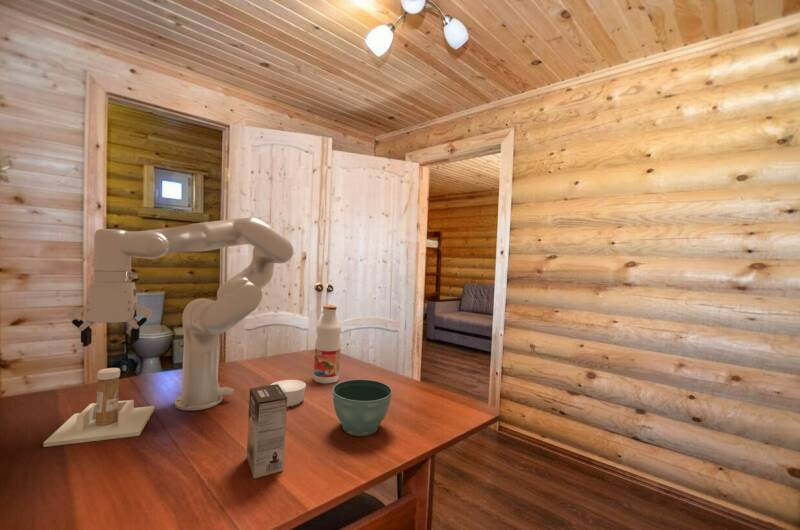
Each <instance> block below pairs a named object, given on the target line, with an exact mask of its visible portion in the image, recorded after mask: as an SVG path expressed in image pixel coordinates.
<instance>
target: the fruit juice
mask: <svg viewBox="0 0 800 530" xmlns="http://www.w3.org/2000/svg"><path fill="white" fill-rule="evenodd" d="M337 309H338V308H337V305H331V304H330V305H329V304H326V305H323V314H322V318H321V319H320V321H319V323H318V324H317V325H316V336H317V337H316V340H315V344H314V345H315V346H314V362H313V363H314V365H313V380H314V382H316V383H318V382H319V384H333V382H334V383H336V382H338V380H340V379H339V378H340V369H341V368H340V366H341V365H340V363H341V349H342V348H341V346H342V343H341V338H340V336H341V332H342V326H341V324H340V322H339V321H338V318H337V314H336V313H337Z"/></svg>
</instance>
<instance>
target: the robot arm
mask: <svg viewBox="0 0 800 530" xmlns="http://www.w3.org/2000/svg"><path fill="white" fill-rule="evenodd" d="M93 235H94V236H93V239H94V240H93V268H92V269H93V271H92V272H93V273H92V274H93V275H92V278H93V279H92V282H90V283H89V285H88V290H87V293H86V297H85V303H84V304H85V305H84V306H81V307H79V308H76V309H74V310H71V311H69V312H67V317H68V318H69V320H70V321H71V323H72V324H73V325H74V327H76V328H78V330H79V331H80V343H82V346H83V347H88V346H89V345H91V344H92V342H93V341H92V337H93V333H92V330H93V329H92V328H91V327H92V325H93V324H96V323H97V324H99V323H100V324H101V323H103V324H104V323H128V324H129V325H130V326H131V327H132V328H131V329H130V341H129V342H130V344H131V345H135V344H136V343H137V342H138V341H140V331H141V330H140V327H141V326H143V325H144V324H145V323H146V322H147V321H149V318H150V317H151V315H152V314H153V310H151V309H149V308H146V307H144V306H141V305H139V304H138V294H137V288H136V283H135V282H132V280H134V279H138V277H139V276H138V273H134V272H133V271H132V257H133V258H141V259H148V260H154V259H159V258H162V257H163V256H165V255H167V254H172V253H181V252H207V251H213V250H219V249H225V248H230V247H235V246H240V245H250V246H252V247H253V249H252V259H251V262H250V263H249V265H248V266H247V267H246V268H244V269H243V270H242V271H240V272H239V273H237V274H235V275H234V276H233V277H231V278H230V279H228V280H226V281H225V282H224V283H222V284H221V285H220V286H219V287H218V288H217V293H216V298H217V299H216V300H213V299H210V298H202V297H201V298H197V299H194V300H192V301H190V302H188V304H187V305H186V306H185V307H184V309H183V312H182V319H181V320H182V330H183V353H182V354H183V355H182V358H183V359H182V374H181V376H182V377H181V395H180V396H179V397H177V399H176V400H175V401H174V407H175V408H177V409H178V410H179V411H180V410H182V411H189V412H190V411H200V410H206V409H210V408H213V407H215V406H217V405H219V404H220V403H221V402H222V401H223V396H233V394H234V388H230V386H229V387H228V386H225V387H221V386H220V383H219V381H218V380H219V379H218V377H219V361H220V359H219V358H220V335H221V334H224V333H226V332H227V331H229V330H230V329H232V328H233V327H234V326H236V325H238V324H239V323H240V322H241V321H242V320H244V319H245V318H247V317H248V316H249V315H250V314H251V313H253V312H254V311H255V310H256V309H257V308H258V307H259V305H260V304H261V302H262V299H263V291H262V289H264V287H266V286H267V285H268V284H269V283H270V281H271V280H272V278H273V275H274V269H275V264H285V263H287V262H289V261H290V260H291V259H292V258H293V255H294V247H293V244H292V242H290V240H288V238H286V237H285V236H284V235H282V234H281V233H280V232H278V231H276V230H275V229H273V228H272V227H271V226H270V225H268V224H267V223H266V222H264V221H262V220H260V219H258V218H255V217H242V218H240V217H239V218H229V219H223V220H222V219H220V220H214V221H205V222H198V223H190V224H186V225H181V226H173V227H166V228H158V229H148V230H139V231H138V230H137V231H129V230H125V229H113V228H99V229H96V230H95V232H94V234H93ZM83 312H84V320H85V321H84V320H82V319H81V318H79V315H80V314H82V313H83ZM139 313H141V314H143V316H142V318H140V320H138V318H137V317H138V314H139Z"/></svg>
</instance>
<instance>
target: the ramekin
mask: <svg viewBox="0 0 800 530" xmlns="http://www.w3.org/2000/svg"><path fill="white" fill-rule="evenodd" d="M275 384H278V385H279V386H280V388H281V389H282V391H283V392H284V394H285V395H286V396H287V408H290V407H289V406H291V407H295V406H298V405H299V404H300V402H301V403H302V402H303V400H304V397H305V390H306V389H307V384H306V383H305V382H304V381H302V380H298V379H284V380H278V381H275V382H273V383H271V384H270V385H275ZM297 404H298V405H297ZM294 405H295V406H294Z"/></svg>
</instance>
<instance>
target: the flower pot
mask: <svg viewBox="0 0 800 530" xmlns="http://www.w3.org/2000/svg"><path fill="white" fill-rule="evenodd" d="M392 395H393V389H392V388H391V386H390V385H388V384H386V383H384V382H380V381H377V380H373V379H372V380H371V379H349V380H343V381H341V382H337V383H336V384H334V386H333V387H332V397H333V400H332V401H333V408H334V411H335V415H336V418H337V419H338V421H339V422H340V424H341V425H342V429H343V431H344V432H345V433H346V434H349V435H351V436H357V437H364V436H369V435H373V434H375V433H376V432H377V431H378V428H379V425H380V424H381V423H382V422H383V420H384V419H385V417H386V415H387V412H388V411H389V408H390V404H391V398H392Z"/></svg>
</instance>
